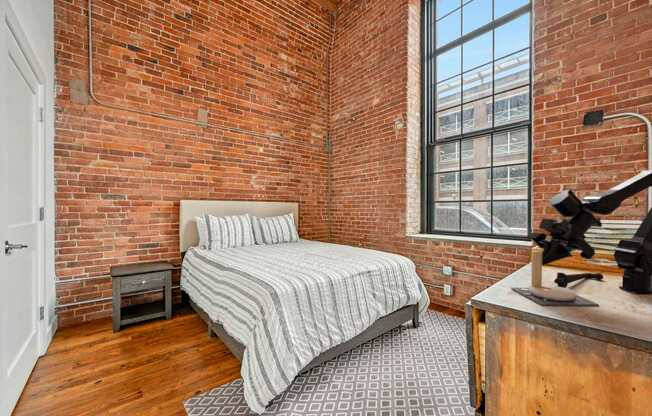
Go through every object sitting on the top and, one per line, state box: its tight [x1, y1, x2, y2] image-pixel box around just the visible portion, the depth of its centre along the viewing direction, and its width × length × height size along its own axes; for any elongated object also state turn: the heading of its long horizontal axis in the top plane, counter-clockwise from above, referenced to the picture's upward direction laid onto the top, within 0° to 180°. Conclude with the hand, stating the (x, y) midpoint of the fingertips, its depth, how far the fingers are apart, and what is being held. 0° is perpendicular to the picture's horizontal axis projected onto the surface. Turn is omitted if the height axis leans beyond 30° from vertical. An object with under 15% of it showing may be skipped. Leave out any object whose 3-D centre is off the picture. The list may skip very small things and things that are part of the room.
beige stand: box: [528, 249, 576, 301], centre depth 89 cm, size 11×11×12 cm
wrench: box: [553, 272, 604, 288], centre depth 100 cm, size 5×5×30 cm
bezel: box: [510, 287, 600, 307], centre depth 89 cm, size 15×15×1 cm
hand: (541, 263), depth 93 cm, fingers closed, pressing on beige stand
